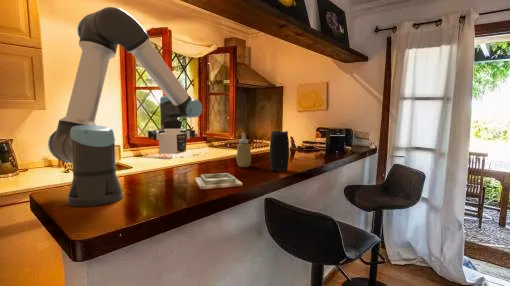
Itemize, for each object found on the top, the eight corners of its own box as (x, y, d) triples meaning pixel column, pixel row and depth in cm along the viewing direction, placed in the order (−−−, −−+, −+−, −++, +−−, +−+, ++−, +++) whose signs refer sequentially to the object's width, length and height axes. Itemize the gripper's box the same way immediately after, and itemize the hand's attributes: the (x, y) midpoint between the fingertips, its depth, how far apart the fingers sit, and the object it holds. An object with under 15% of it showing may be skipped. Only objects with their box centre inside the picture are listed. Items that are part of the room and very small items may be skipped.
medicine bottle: (177, 154, 96) (176, 119, 95) (158, 153, 97) (157, 119, 96) (186, 151, 103) (185, 119, 102) (169, 151, 104) (168, 119, 103)
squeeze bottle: (248, 168, 143) (248, 133, 141) (234, 167, 145) (233, 133, 144) (253, 165, 150) (253, 132, 149) (239, 164, 153) (239, 132, 151)
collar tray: (200, 189, 101) (200, 182, 100) (194, 180, 116) (194, 174, 115) (242, 185, 106) (242, 179, 106) (231, 177, 121) (231, 171, 121)
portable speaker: (270, 168, 141) (271, 130, 139) (289, 169, 139) (289, 130, 138) (268, 172, 133) (269, 131, 131) (288, 172, 131) (288, 131, 129)
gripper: (197, 140, 120) (205, 145, 99) (142, 141, 113) (139, 147, 92) (196, 123, 120) (205, 124, 99) (141, 123, 112) (138, 124, 91)
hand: (173, 135), depth 95 cm, fingers closed on medicine bottle, 9 cm apart
